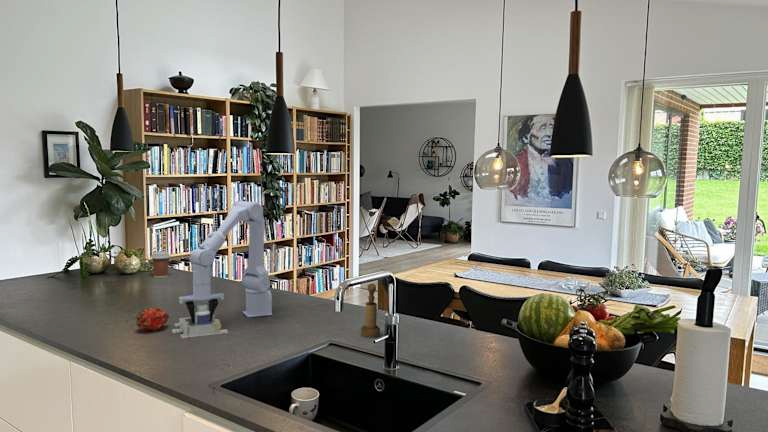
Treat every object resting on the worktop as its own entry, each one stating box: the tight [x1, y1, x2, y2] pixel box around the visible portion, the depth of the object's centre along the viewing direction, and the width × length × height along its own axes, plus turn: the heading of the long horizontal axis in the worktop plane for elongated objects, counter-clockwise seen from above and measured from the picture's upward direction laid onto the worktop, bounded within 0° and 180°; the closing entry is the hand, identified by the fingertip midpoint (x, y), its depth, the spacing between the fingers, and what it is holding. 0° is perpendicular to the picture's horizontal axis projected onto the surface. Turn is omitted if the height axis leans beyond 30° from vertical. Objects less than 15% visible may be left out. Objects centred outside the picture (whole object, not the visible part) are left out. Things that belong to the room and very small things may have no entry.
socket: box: [171, 314, 229, 339], centre depth 188 cm, size 17×16×3 cm
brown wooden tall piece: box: [360, 283, 381, 339], centre depth 187 cm, size 7×6×18 cm
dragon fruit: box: [136, 306, 170, 332], centre depth 186 cm, size 8×8×12 cm
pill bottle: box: [194, 302, 210, 325], centre depth 187 cm, size 5×5×9 cm
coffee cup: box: [150, 251, 171, 279], centre depth 270 cm, size 9×9×12 cm
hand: (201, 321), depth 189 cm, fingers closed on pill bottle, 5 cm apart
